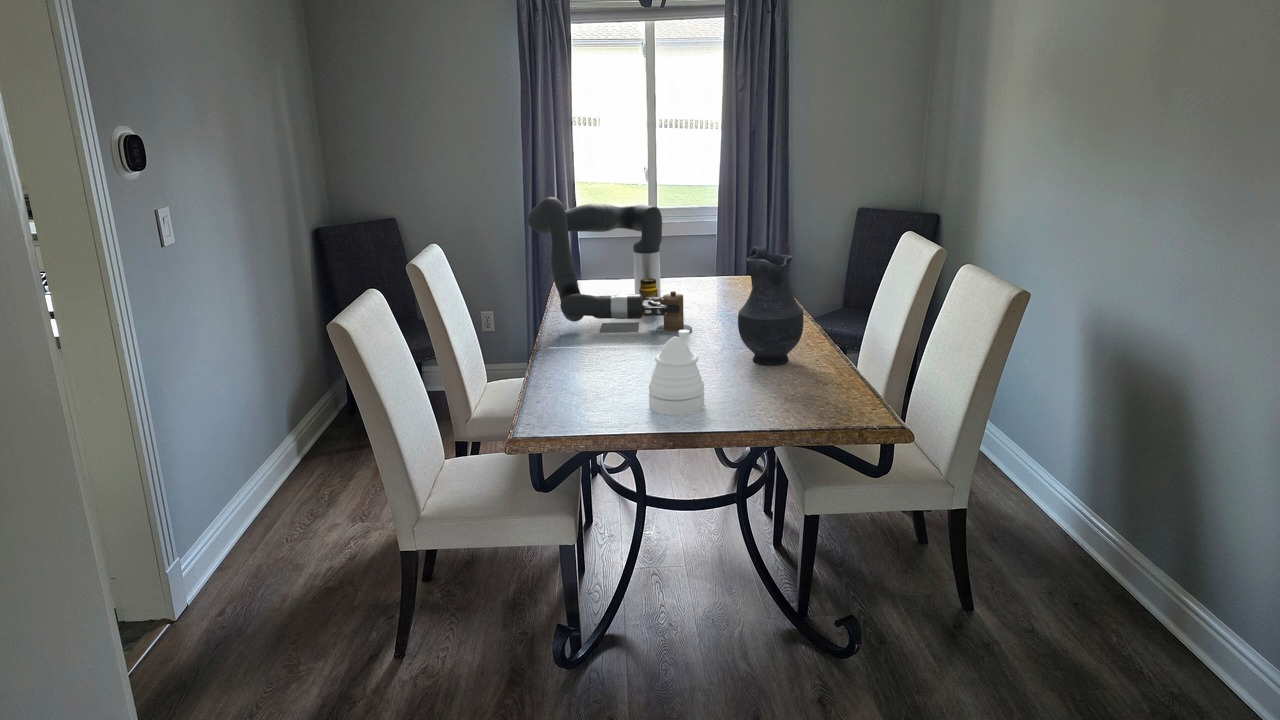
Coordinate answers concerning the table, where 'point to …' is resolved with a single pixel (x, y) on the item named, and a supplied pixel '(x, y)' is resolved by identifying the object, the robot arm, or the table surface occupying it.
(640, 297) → the robot arm
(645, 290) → the condiment
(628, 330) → the mat
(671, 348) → the honey pot
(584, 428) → the table surface
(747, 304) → the pitcher
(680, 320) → the canister
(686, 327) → the grey round disc
